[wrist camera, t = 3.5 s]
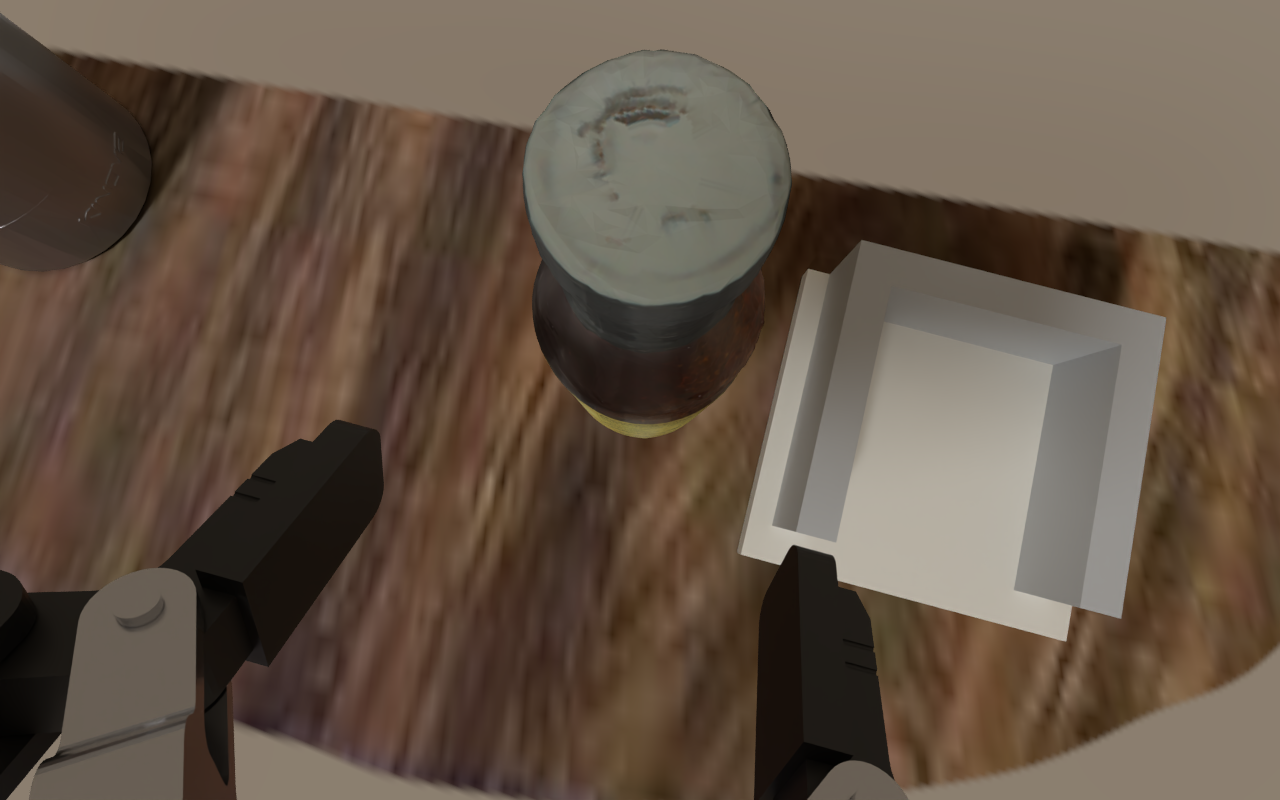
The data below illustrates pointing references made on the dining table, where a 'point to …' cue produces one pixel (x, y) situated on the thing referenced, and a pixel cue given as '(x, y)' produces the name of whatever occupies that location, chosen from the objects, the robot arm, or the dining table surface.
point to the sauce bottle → (653, 234)
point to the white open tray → (959, 438)
